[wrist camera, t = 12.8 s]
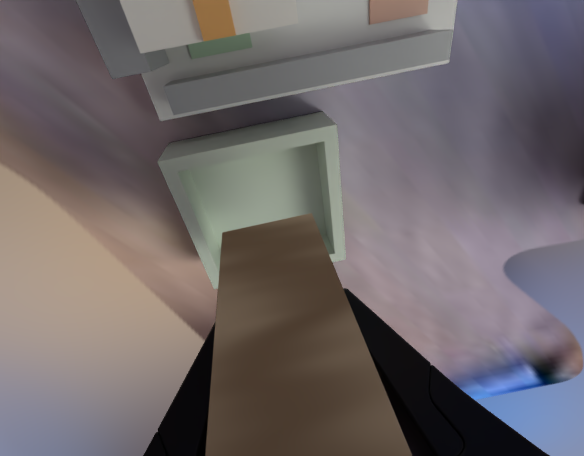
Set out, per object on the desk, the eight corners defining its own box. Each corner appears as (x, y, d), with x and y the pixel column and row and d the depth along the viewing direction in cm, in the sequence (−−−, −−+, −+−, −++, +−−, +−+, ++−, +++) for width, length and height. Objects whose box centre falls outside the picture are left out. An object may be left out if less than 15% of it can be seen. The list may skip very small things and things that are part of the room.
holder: (322, 111, 14) (336, 124, 12) (333, 234, 19) (345, 259, 17) (168, 143, 14) (157, 161, 12) (216, 260, 18) (214, 289, 16)
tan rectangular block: (311, 213, 11) (539, 762, 3) (320, 277, 13) (468, 711, 5) (222, 232, 11) (173, 877, 3) (244, 294, 13) (258, 774, 4)
